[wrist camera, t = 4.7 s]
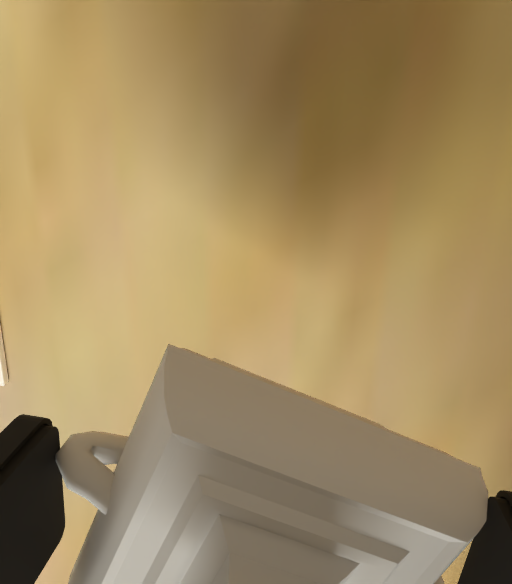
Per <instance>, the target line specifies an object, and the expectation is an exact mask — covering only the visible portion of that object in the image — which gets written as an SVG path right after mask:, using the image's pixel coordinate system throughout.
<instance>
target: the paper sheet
mask: <svg viewBox="0 0 512 584" xmlns="http://www.w3.org/2000/svg"><path fill="white" fill-rule="evenodd" d="M8 382H9V380H8V373H7V366H6V359H5V352H4V346H3V339H2V332H1V325H0V385H1V386H5V385H6V384H7V383H8Z"/></svg>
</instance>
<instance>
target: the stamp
mask: <svg viewBox="0 0 512 584" xmlns="http://www.w3.org/2000/svg"><path fill="white" fill-rule="evenodd" d="M56 463H57V465H58V467H59V470H60V472H61V475H62V477H63V479H64V482H65V484H66V487H67V488H68V489H69V490H71V491H73V492H75V493H76V494H78V495H80V496H82V497H84V498H86V499H87V500H88V501H89V502H91V503H92V504H93V505H94V506H95V507H96V508H98V511H97V513H96V516H95V518H94V520H93V523H92V525H91V527H90V530H89V532H88V534H87V537H86V539H85V542H84V544H83V546H82V549H81V551H80V553H79V556H78V558H77V560H76V563H75V565H74V567H73V570H72V572H71V574H70V578H69V583H68V584H444V581H443V579H442V576H441V575H442V574H443V573H444V571H445V570H446V569H447V568H448V567H449V566H450V565H451V563H452V562H453V561H454V560H455V559H456V558H457V557H458V555H459V554H460V553H461V552H462V551H463V550H464V549H465V547H466V546H467V545H468V544H469V543H470V542H471V541H472V539H473V538H474V537H475V536H476V535H477V534H478V532H479V531H480V530H481V528H482V527H483V525H484V524H485V522H486V519H487V504H488V490H487V488H486V485H485V482H484V480H483V477H482V474H481V469H480V468H478V467H476V466H474V465H471V464H469V463H466V462H464V461H461V460H459V459H456V458H454V457H453V456H451V455H449V454H447V453H445V452H443V451H440V450H438V449H435V448H433V447H430V446H428V445H425V444H423V443H420V442H418V441H415V440H413V439H410V438H408V437H405V436H403V435H400V434H398V433H395V432H393V431H390V430H388V429H386V428H385V427H383V426H381V425H380V424H378V423H375V422H373V421H370V420H368V419H365V418H363V417H360V416H358V415H356V414H353V413H351V412H348V411H346V410H343V409H341V408H338V407H336V406H333V405H331V404H328V403H326V402H323V401H321V400H318V399H316V398H313V397H311V396H308V395H306V394H303V393H301V392H298V391H296V390H293V389H291V388H288V387H286V386H283V385H281V384H278V383H276V382H273V381H271V380H268V379H266V378H263V377H261V376H258V375H256V374H253V373H251V372H248V371H246V370H243V369H241V368H238V367H236V366H233V365H231V364H228V363H226V362H223V361H221V360H218V359H216V358H214V359H210V358H208V357H205V356H203V355H200V354H198V353H195V352H193V351H190V350H188V349H184V348H178V347H175V346H173V345H170V344H168V346H167V349H166V351H165V353H164V356H163V358H162V360H161V363H160V365H159V368H158V370H157V372H156V375H155V377H154V379H153V382H152V384H151V386H150V389H149V391H148V393H147V396H146V398H145V400H144V403H143V405H142V407H141V410H140V412H139V415H138V417H137V419H136V422H135V424H134V426H133V429H132V431H131V433H130V436H129V437H127V436H121V435H116V434H111V433H105V432H95V431H91V432H85V433H77V434H73V435H71V436H70V437H69V438H68V440H67V441H66V442H65V443H64V445H63V446H62V447H61V448H60V450H59V451H58V452H57V453H56ZM107 464H117V466H116V469H115V471H114V473H113V472H112V471H111V470H110V469H109V468H107V467H106V466H105V465H107Z"/></svg>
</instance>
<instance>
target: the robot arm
mask: <svg viewBox="0 0 512 584" xmlns="http://www.w3.org/2000/svg"><path fill="white" fill-rule="evenodd" d="M59 450H60V442H59V431H58V429H57V427H53V426H52V422H51V420H50V419H48V418H43V417H36V416H30V415H24V414H23V415H19V416H18V417H17V418H15V419H14V420H13V421H12V422H11V423H10V424H9V425H8V426H7V427H6V428H5V429H4V430H3V431H2V432H1V433H0V584H34V583H35V581H36V580H37V578H38V576H39V575H40V573H41V571H42V570H43V568H44V567H45V565H46V563H47V562H48V560H49V558H50V557H51V555H52V553H53V552H54V550H55V549H56V547H57V545H58V544H59V542H60V540H61V538H62V535H63V532H64V528H65V513H64V499H63V485H62V475H61V472H60V470H59V467H58V465H57V463H56V453H57V452H58V451H59ZM458 584H512V492H510V491H500V492H498V493H497V495H496V497H489V498H488V504H487V519H486V522H485V524H484V525H483V527H482V528H481V530H480V531H479V532H478V534H477V535H476V536H475V537H474V539H473V541H472V544H471V547H470V550H469V553H468V556H467V558H466V561H465V564H464V567H463V570H462V573H461V576H460V578H459V581H458Z"/></svg>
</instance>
